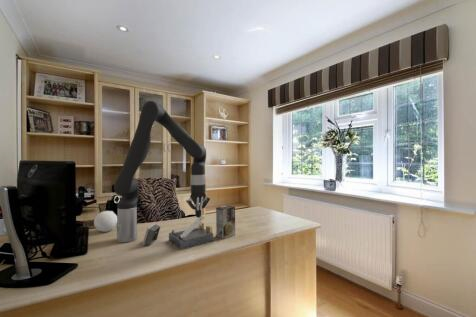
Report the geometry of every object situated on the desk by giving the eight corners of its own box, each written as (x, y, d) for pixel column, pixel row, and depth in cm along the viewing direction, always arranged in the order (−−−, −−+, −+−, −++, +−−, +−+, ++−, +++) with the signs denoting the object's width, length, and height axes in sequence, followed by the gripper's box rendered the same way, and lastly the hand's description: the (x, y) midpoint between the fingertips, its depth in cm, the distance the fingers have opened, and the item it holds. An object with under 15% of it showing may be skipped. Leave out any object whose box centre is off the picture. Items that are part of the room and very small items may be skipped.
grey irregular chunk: (150, 239, 123) (151, 222, 123) (159, 240, 123) (161, 223, 122) (141, 246, 114) (143, 227, 113) (152, 247, 113) (153, 228, 113)
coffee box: (228, 232, 134) (227, 204, 134) (235, 235, 129) (235, 206, 129) (215, 236, 127) (215, 207, 127) (223, 239, 123) (223, 209, 123)
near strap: (182, 239, 111) (181, 238, 111) (180, 238, 113) (179, 236, 113) (204, 218, 118) (203, 216, 118) (202, 217, 121) (200, 215, 120)
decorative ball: (121, 230, 138) (121, 210, 138) (99, 236, 128) (99, 214, 128) (111, 226, 145) (111, 207, 145) (90, 231, 135) (90, 211, 135)
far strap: (174, 234, 118) (174, 232, 118) (172, 233, 120) (172, 230, 120) (200, 229, 127) (200, 227, 127) (198, 227, 129) (198, 225, 129)
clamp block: (180, 249, 109) (180, 235, 109) (168, 240, 121) (168, 227, 121) (213, 241, 120) (213, 227, 120) (199, 233, 132) (199, 221, 132)
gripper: (189, 185, 111) (189, 221, 111) (213, 183, 119) (213, 216, 119) (183, 183, 117) (183, 217, 117) (205, 181, 125) (206, 213, 125)
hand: (198, 217), depth 118 cm, fingers closed
